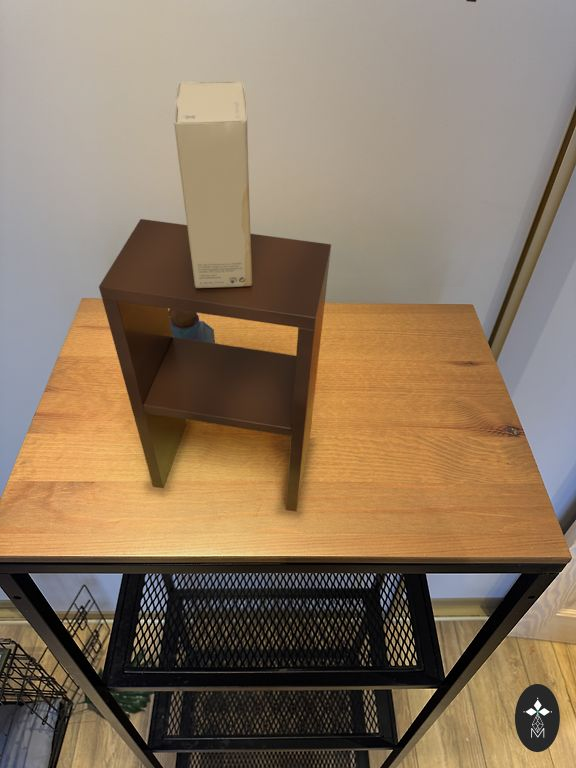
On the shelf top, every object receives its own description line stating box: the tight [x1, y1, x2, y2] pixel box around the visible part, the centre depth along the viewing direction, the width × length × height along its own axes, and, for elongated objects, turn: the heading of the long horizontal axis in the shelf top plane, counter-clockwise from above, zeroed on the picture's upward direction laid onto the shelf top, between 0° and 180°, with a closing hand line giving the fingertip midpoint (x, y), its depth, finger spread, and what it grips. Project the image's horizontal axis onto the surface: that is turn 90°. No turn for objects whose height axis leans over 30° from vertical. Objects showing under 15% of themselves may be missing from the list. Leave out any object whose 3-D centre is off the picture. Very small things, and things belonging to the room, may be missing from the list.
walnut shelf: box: [98, 218, 332, 513], centre depth 54 cm, size 16×9×28 cm, turn 80°
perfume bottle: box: [168, 308, 216, 343], centre depth 68 cm, size 6×6×12 cm
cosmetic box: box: [173, 81, 252, 288], centre depth 39 cm, size 6×4×12 cm
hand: (527, 4), depth 43 cm, fingers open, 8 cm apart
